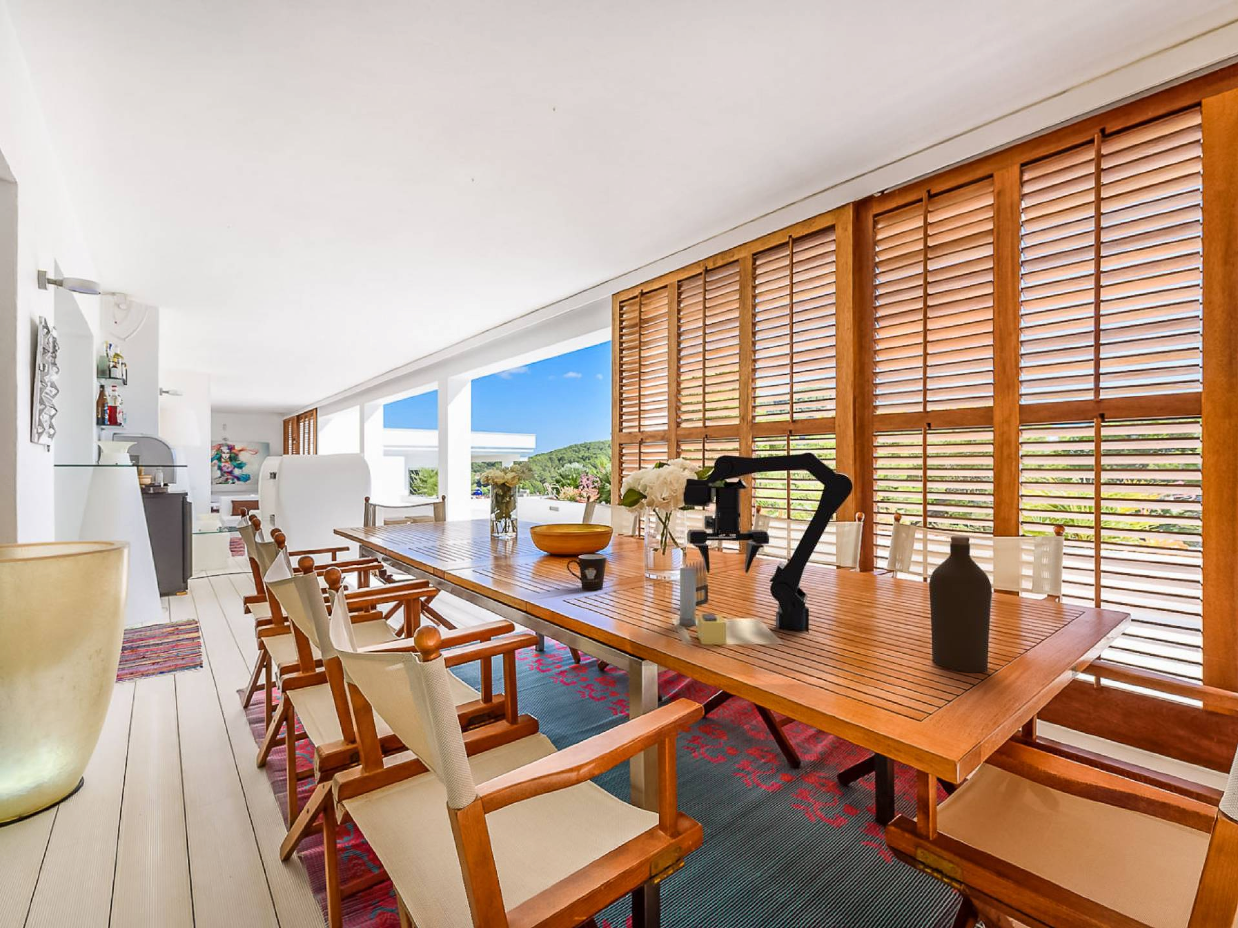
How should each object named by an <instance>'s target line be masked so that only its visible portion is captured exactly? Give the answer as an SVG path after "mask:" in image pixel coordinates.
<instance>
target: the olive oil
mask: <svg viewBox="0 0 1238 928" xmlns="http://www.w3.org/2000/svg"><path fill="white" fill-rule="evenodd" d="M928 582H929V583H928V586H929V587H928V588H929V592H928V593H929V606H930V625H931V627H930V629H931V630H930V631H931V658H932V662H933V663H934V664H936V665H937V666H940V667H941V668H944V669H947V670H951V671H956V672H962V673H982V672H985V671H987V670H988V665H989V645H990V643H989V642H990V627H991V626H990V625H991V609H992V595H993V588H992V583H991V580H990V578H989V576H988V575H987V573H986V572H985V571H984V570H983V569H982V568H981V567H980V566H979V565H978V564H977V563H976V561H974V560H973V559H972V557H971V544H970V537H969V536H963V535H962V536H961V535H952V536H951V537H950V544H949V556H948V557H947V558H946V559H945V560H944V561H942V562H941V563H940V564H939V565H938V566H937V567H936V568H935V569H934V570H933V571H932V573H931V575H930V578H929V581H928Z"/></svg>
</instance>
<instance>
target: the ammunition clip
mask: <svg viewBox="0 0 1238 928" xmlns="http://www.w3.org/2000/svg"><path fill="white" fill-rule="evenodd" d="M685 567H691V568H695V569H696V602H695V608H696V607H698V605H699V606H701V605H704V604H707V603H709V584H708V573H707V571H706V568H705V564H704V561H703V560H699V562H698V561H696V562H692V563H691V562H690V563H689V565H688V563H686V564H685Z"/></svg>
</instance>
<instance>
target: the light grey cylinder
mask: <svg viewBox="0 0 1238 928" xmlns="http://www.w3.org/2000/svg"><path fill="white" fill-rule="evenodd" d="M695 602H696V569H695V568H691V567H689V566H688V567H686V566H685V567H680V568H679V619H680V625H682V626H684V627H694V626H696V619H697V618H696V607H695Z"/></svg>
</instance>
